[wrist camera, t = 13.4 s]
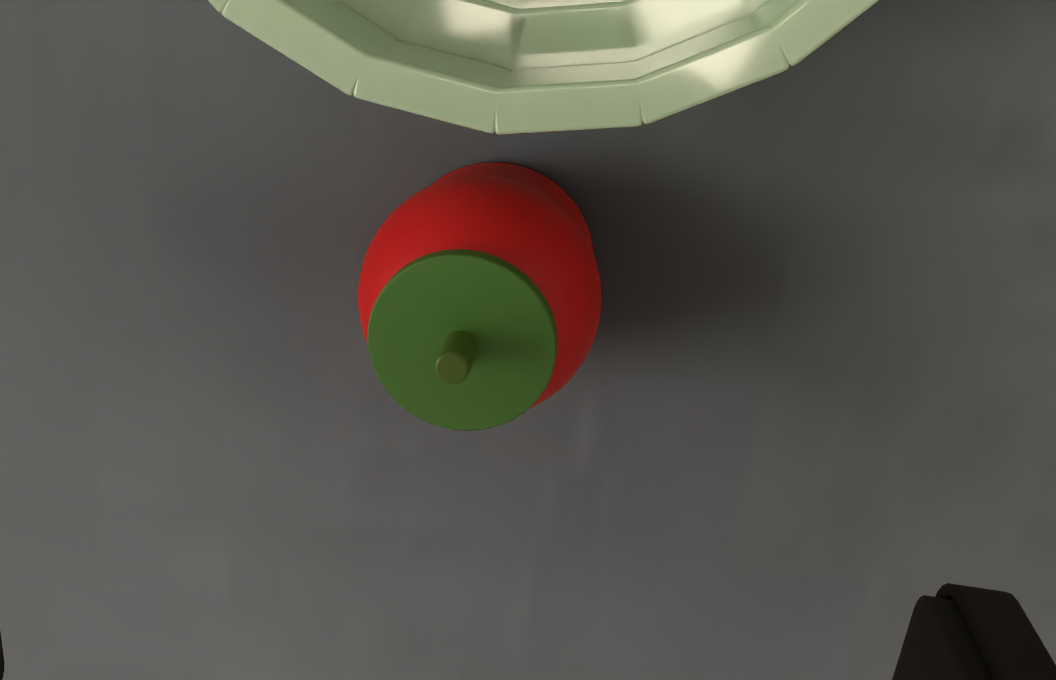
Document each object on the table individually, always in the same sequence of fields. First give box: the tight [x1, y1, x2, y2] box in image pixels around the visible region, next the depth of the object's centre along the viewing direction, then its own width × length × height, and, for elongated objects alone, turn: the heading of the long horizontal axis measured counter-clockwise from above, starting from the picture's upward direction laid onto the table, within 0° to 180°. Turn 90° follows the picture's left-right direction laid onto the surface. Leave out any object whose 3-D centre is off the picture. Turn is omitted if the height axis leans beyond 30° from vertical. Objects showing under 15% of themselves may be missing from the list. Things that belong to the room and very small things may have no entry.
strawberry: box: [358, 162, 602, 431], centre depth 16 cm, size 4×4×5 cm
